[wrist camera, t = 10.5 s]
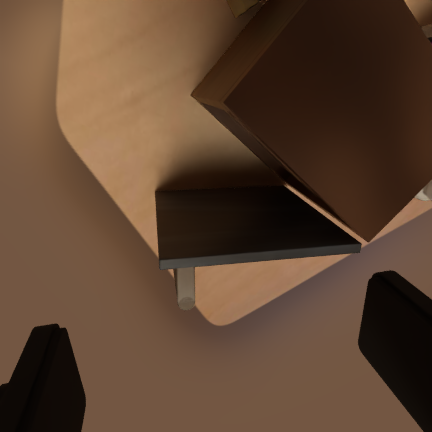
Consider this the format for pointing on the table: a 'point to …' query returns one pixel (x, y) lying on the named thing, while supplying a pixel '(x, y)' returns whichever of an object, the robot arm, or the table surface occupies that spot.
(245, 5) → the camouflage toy block
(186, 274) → the door
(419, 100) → the cabinet
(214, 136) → the table surface
